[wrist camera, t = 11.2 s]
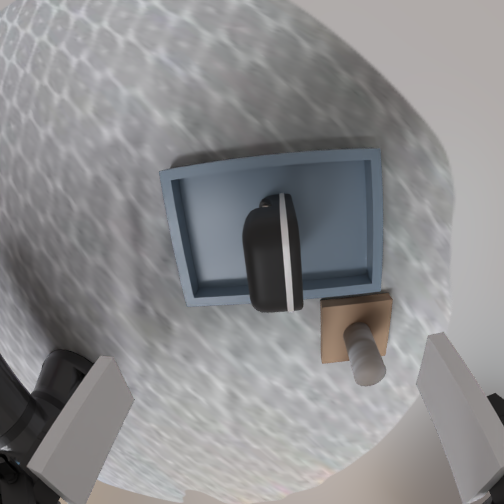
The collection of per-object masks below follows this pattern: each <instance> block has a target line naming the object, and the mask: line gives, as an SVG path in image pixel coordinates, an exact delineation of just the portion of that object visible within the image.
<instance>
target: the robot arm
mask: <svg viewBox="0 0 504 504" xmlns="http://www.w3.org/2000/svg"><path fill="white" fill-rule="evenodd" d="M416 385H417V387H418V389H419V391H420V394H421V396H422V398H423V400H424V403H425V405H426V407H427V409H428V412H429V414H430V416H431V419H432V421H433V423H434V426H435V428H436V431H437V433H438V436H439V438H440V441H441V443H442V446H443V449H444V451H445V454H446V456H447V459H448V462H449V464H450V467H451V470H452V473H453V475H454V478H455V481H456V484H457V487H458V490H459V493H460V497H461V500H462V503H463V504H469V503H472V502H474V501H476V500H478V499H480V498H482V497H483V496H484V495H485V494H486V493H487V492H488V491H489V492H490V494H491V496H490V497H489V498H488V499H487V500H486V501H485V502H484V503H483V504H504V399H502V398H501V397H500V396H498V395H497V394H496V393H494V394H492V395H489V396H487V397H486V395H485V393H484V392H483V390H482V389H481V387H480V385H479V384H478V382H477V381H476V379H475V377H474V376H473V374H472V373H471V371H470V370H469V368H468V367H467V365H466V364H465V362H464V361H463V360H462V358H461V356H460V355H459V353H458V352H457V351H456V349H455V348H454V346H453V345H452V343H451V342H450V341H449V339H448V338H447V336H446V335H445V333H444V332H442V333H437V334H433V335H428V338H427V342H426V347H425V351H424V355H423V360H422V364H421V367H420V371H419V375H418V379H417V382H416ZM134 400H135V399H134V398H133V396H132V394H131V392H130V390H129V388H128V386H127V384H126V382H125V380H124V378H123V376H122V374H121V372H120V369H119V367H118V365H117V363H116V361H115V359H114V357H110V356H100V357H99V358H98V359H97V361H96V362H95V364H94V365H93V364H92V363H91V362H89V361H88V360H86V359H85V358H83V357H81V356H79V355H77V354H75V353H72V352H70V351H65V350H56V351H54V352H52V353H51V354H50V355H49V356H48V357H47V358H46V360H45V361H44V363H43V365H42V370H41V372H40V375H39V378H38V380H37V383H36V386H35V389H34V391H33V392H32V393H31V394H30V393H29V392H28V391H27V389H26V388H25V387H24V386H23V384H22V383H21V382H20V381H19V379H18V378H17V377H16V375H15V374H14V372H13V371H12V370H11V368H10V367H9V365H8V364H7V363H6V361H5V360H4V358H3V357H2V355H1V354H0V504H61V503H60V502H59V501H58V500H59V498H60V497H61V498H62V499H63V500H65V501H66V502H67V503H68V504H86V502H87V500H88V498H89V495H90V493H91V491H92V489H93V486H94V484H95V482H96V480H97V478H98V475H99V473H100V471H101V469H102V467H103V465H104V462H105V460H106V458H107V456H108V454H109V452H110V450H111V447H112V445H113V443H114V441H115V439H116V437H117V435H118V433H119V431H120V429H121V427H122V424H123V422H124V420H125V418H126V416H127V414H128V412H129V410H130V408H131V406H132V404H133V402H134Z"/></svg>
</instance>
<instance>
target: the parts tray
mask: <svg viewBox="0 0 504 504" xmlns="http://www.w3.org/2000/svg"><path fill="white" fill-rule="evenodd" d="M159 175H160V181H161V187H162V192H163V198H164V204H165V209H166V214H167V219H168V225H169V230H170V235H171V240H172V244H173V249H174V254H175V258H176V263H177V267H178V272H179V276H180V281H181V285H182V289H183V293H184V297H185V301H186V306H187V307H194V306H215V305H234V304H250V303H251V301H250V295H249V288H248V281H247V273H246V266H245V258H244V251H243V243H242V231H243V226H244V223H245V219H246V217H247V216H248V214H249V213H250V211H252V210H253V209H255V208H259V204H260V202H261V200H262V199H263V198H265V197H267V196H271V195H276V194H279V193H284V194H290V195H291V197H292V201H293V205H294V208H295V212H296V216H297V221H298V227H299V236H300V248H301V264H302V281H303V299H314V298H324V297H335V296H344V295H354V294H363V293H371V292H380V291H381V279H382V257H383V188H382V166H381V151H380V149H379V148H347V149H328V150H312V151H299V152H287V153H277V154H267V155H258V156H249V157H241V158H233V159H226V160H219V161H212V162H205V163H199V164H193V165H187V166H181V167H175V168H170V169H166V170H162V171H159Z"/></svg>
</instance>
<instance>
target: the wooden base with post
mask: <svg viewBox="0 0 504 504" xmlns="http://www.w3.org/2000/svg"><path fill="white" fill-rule="evenodd" d="M392 301H393V299H392V298H391V296H390V295H389V293H383V294H374V295H366V296H357V297H348V298H338V299H328V300H320V304H321V359H322V364H324V363H333V362H342V361H350V364H351V367H352V371H353V375H354V379H355V382H356V383H357V384H358V385H360V386H371V385H374V384H376V383H378V382H379V381H381V380H382V379H383V378H384V376H385V374H386V368H385V365H384V362H383V360H382V357H381V356H385V354H386V348H387V341H388V334H389V327H390V319H391V310H392Z"/></svg>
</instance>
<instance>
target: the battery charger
mask: <svg viewBox="0 0 504 504" xmlns="http://www.w3.org/2000/svg"><path fill="white" fill-rule="evenodd" d="M242 243H243V251H244V258H245V266H246V273H247V281H248V288H249V295H250V301H251V303H252V305H253V307H254V308H255V309H256V310H257V311H260V312H267V313H269V312H284V311H288V312H294V311H297V310H301V309H302V308H303V281H302V264H301V248H300V236H299V227H298V221H297V216H296V212H295V208H294V205H293V201H292V197H291V195H290V194H284V193H279V194H276V195H271V196H267V197H265V198H263V199H262V200H261V202H260V204H259V208H255V209H253V210H252V211H250V213H249V214H248V216H247V217H246V219H245V223H244V226H243V231H242Z"/></svg>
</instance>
